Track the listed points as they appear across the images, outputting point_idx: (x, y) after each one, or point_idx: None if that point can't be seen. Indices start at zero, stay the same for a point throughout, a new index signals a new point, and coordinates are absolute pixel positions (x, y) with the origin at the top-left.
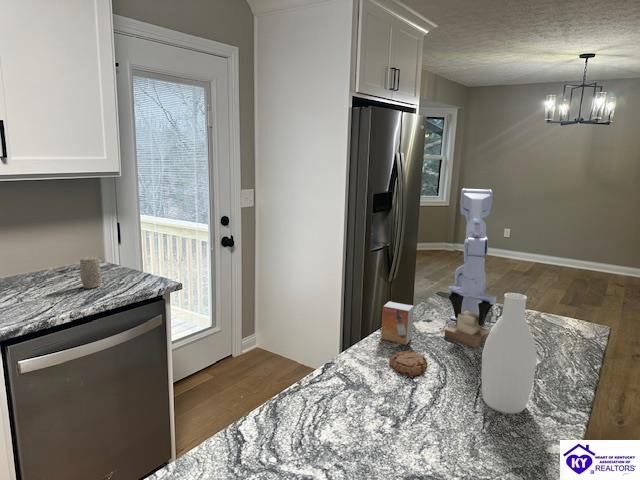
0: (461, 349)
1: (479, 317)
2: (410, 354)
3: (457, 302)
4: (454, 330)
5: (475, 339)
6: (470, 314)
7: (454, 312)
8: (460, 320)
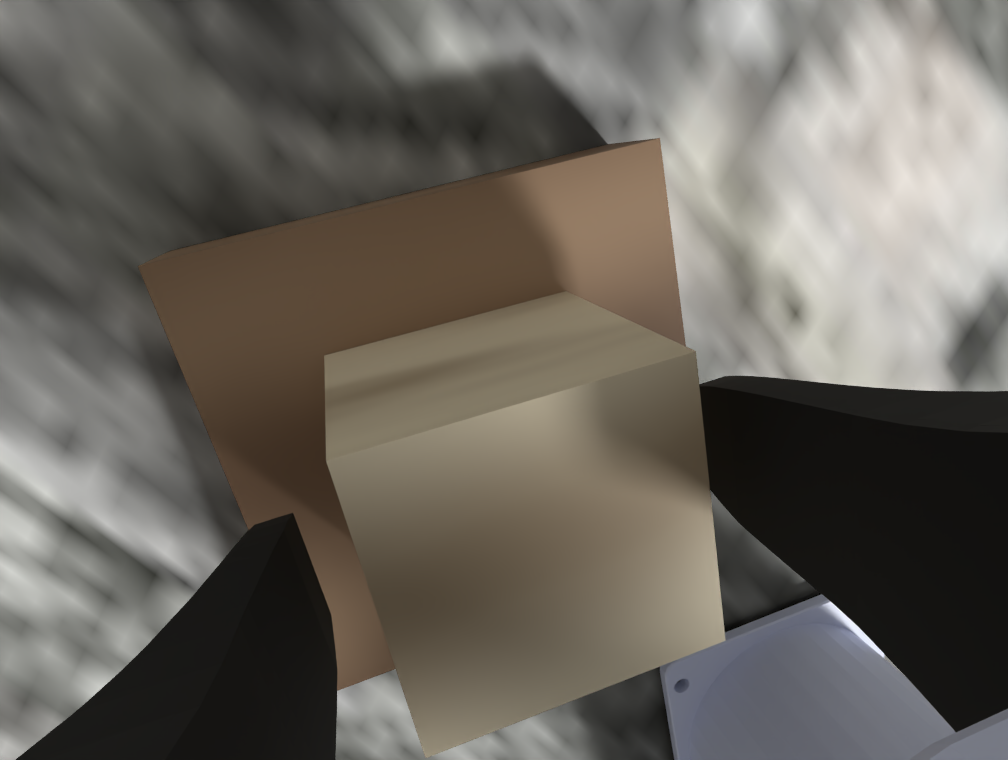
0: (203, 18)
1: (238, 590)
2: None
3: (980, 517)
4: (566, 241)
5: (146, 263)
6: (552, 577)
7: (803, 381)
8: (582, 338)
